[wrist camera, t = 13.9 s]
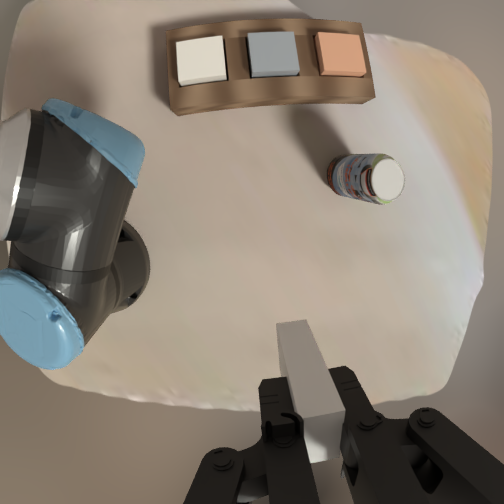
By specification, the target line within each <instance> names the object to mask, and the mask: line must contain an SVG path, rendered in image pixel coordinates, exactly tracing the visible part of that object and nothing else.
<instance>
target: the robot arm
mask: <svg viewBox="0 0 504 504" xmlns="http://www.w3.org/2000/svg"><path fill="white" fill-rule="evenodd" d="M144 156H145V149H144V146H143V143H142V141H141V140H140V139H139V138H138V137H137V136H136V135H134V134H133V133H131V132H130V131H128V130H126V129H124V128H123V127H121V126H119V125H117V124H115V123H113V122H111V121H109V120H107V119H105V118H103V117H101V116H99V115H97V114H94V113H92V112H90V111H87V110H83V109H81V108H80V107H77V106H74V105H72V104H71V103H68V102H65V101H62V100H59V99H55V98H51V99H48V100H47V102H46V103H45V104H44V105H43V106H42V112H40V111H36V110H32V109H28V108H24V109H22V110H21V111H19V112H18V113H16V114H15V115H13V116H12V117H11V118H9V119H8V120H5V121H0V240H6V241H11V247H10V256H9V265H8V268H6V269H3V270H0V335H1V336H2V337H3V338H4V340H5V342H6V343H7V344H8V345H9V347H10V348H11V349H12V350H13V351H14V352H15V353H16V354H18V355H19V356H20V357H21V358H23V359H24V360H26V361H27V362H29V363H31V364H32V365H35V366H37V367H40V368H43V369H48V370H54V369H59V368H63V367H65V366H67V365H68V364H69V363H70V362H71V361H72V360H73V359H75V358H76V357H77V356H78V355H80V354H81V353H82V351H83V348H84V347H85V345H86V344H87V343H88V341H89V340H90V339H91V337H92V336H93V335H94V334H95V332H96V331H97V330H98V329H99V327H100V326H101V325H102V323H103V322H104V321H105V320H106V318H107V317H108V316H109V315H110V314H111V313H115V312H118V311H121V310H124V309H126V308H128V307H129V306H131V305H132V304H133V303H134V302H135V301H136V300H137V299H138V298H139V297H140V295H141V294H142V292H143V291H144V289H145V287H146V285H147V283H148V280H149V275H150V260H149V255H148V251H147V249H146V246H145V244H144V242H143V240H142V238H141V237H140V235H139V234H138V233H137V232H136V230H135V229H134V228H133V227H132V226H130V225H129V224H128V223H126V222H125V221H124V218H125V215H126V212H127V208H128V205H129V202H130V199H131V196H132V193H133V190H134V188H137V185H138V182H137V178H138V175H139V172H140V169H141V166H142V163H143V159H144ZM276 328H277V340H278V352H279V364H280V371H281V376H282V377H279V378H271V379H263V380H262V382H261V384H260V386H259V388H258V389H259V399H260V410H261V420H262V425H261V430H262V436H261V439H260V440H259V441H258V442H257V443H256V444H255V445H253V446H252V447H249V448H247V449H244V450H242V451H236V450H235V449H232V448H228V447H227V448H225V447H224V448H217V449H213V450H211V451H210V452H208V453H207V454H206V455H205V456H204V458H203V459H202V461H201V464H200V466H199V468H198V471H197V473H196V475H195V478H194V480H193V482H192V485H191V487H190V489H189V492H188V494H187V496H186V499H185V501H184V503H183V504H252V501H253V500H255V499H258V498H261V497H264V496H266V495H269V502H270V504H320V501H319V497H318V493H317V489H316V485H315V481H314V476H313V472H312V468H311V464H310V463H314V462H319V461H324V460H329V459H334V458H339V456H340V450H341V453H342V456H343V465H342V470H341V478H344V475H345V477H346V480H347V483H348V486H349V489H350V492H351V495H352V499H353V501H354V504H504V464H502V463H501V462H500V461H499V460H497V459H496V458H495V457H494V456H493V455H491V454H490V453H489V452H488V451H487V450H485V449H484V448H483V447H482V446H480V445H479V444H478V443H477V442H476V441H474V440H473V439H472V438H471V437H470V436H468V435H467V434H466V433H465V432H463V431H462V430H461V429H460V428H459V427H457V426H456V425H455V424H454V423H453V422H451V421H450V420H449V419H448V418H446V417H445V416H444V415H443V414H442V413H440V412H439V411H437V410H435V409H433V408H428V407H427V408H420V409H417V410H415V411H414V412H413V413H412V414H411V415H410V417H409V419H388V418H385V417H384V416H383V415H382V414H381V413H379V412H377V411H375V410H374V409H373V407H372V405H371V403H370V402H369V400H368V398H367V396H366V394H365V392H364V390H363V388H362V387H361V385H360V383H359V381H358V379H357V377H356V375H355V373H354V372H353V371H352V370H351V369H349V368H348V367H346V366H341V367H336V368H331V369H328V368H327V366H326V364H325V361H324V359H323V357H322V354H321V352H320V350H319V347H318V345H317V343H316V341H315V338H314V336H313V334H312V331H311V329H310V327H309V325H308V322H307V320H299V321H292V322H285V323H277V324H276Z"/></svg>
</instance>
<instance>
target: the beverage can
mask: <svg viewBox="0 0 504 504" xmlns="http://www.w3.org/2000/svg"><path fill="white" fill-rule="evenodd" d="M327 179H328V183H329V185H330V187H331V189H332V190H333V191H334V192H335V193H336V194H338V195H340V196H344V197H349V198H353V199H358V200H362V201H367V202H371V203H375V204H388V203H390V202H392V201H393V200H395V199H397V198H398V197H399V196H400V195H401V193H402V191H403V189H404V186H405V175H404V171H403V169H402V167H401V166H400V164H399V163H398V162H397V161H395V160H394V159H393V158H392V157H390V156H388V155H386V154H351V155H340V156H338V157H336V158H335V159H334V160H333V161H332V162H331V163H330V165H329V167H328V171H327Z"/></svg>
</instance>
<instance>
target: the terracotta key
mask: <svg viewBox="0 0 504 504" xmlns="http://www.w3.org/2000/svg"><path fill="white" fill-rule="evenodd" d="M313 41H314V47H315V53H316V59H317V65H318V71H319V76H332V77H356V78H360V77H361V76H362V75H364V74H365V73H366V67H365V62H364V56H363V51H362V46H361V42H360V37H359V35H352V34H341V33H325V32H318V33H317V34H316V36H315V38H314V39H313Z"/></svg>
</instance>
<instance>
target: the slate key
mask: <svg viewBox="0 0 504 504" xmlns="http://www.w3.org/2000/svg"><path fill="white" fill-rule="evenodd" d="M247 49H248V58H249V66H250V75H251V79H253V78H268V77H292V76H296V75H297V74H298V72H299V71H300V69H299V62H298V56H297V49H296V43H295V37H294V32H259V33H248V37H247Z"/></svg>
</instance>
